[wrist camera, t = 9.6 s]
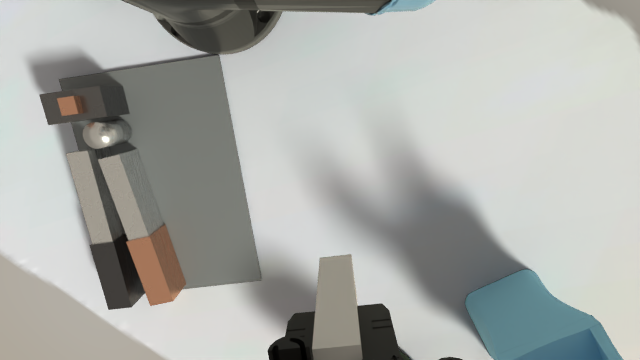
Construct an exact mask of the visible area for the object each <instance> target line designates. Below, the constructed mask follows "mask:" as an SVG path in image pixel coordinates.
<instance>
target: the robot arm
mask: <svg viewBox="0 0 640 360" xmlns="http://www.w3.org/2000/svg"><path fill="white" fill-rule="evenodd" d="M122 1H124V2H127V3H129V4H132V5H134V6H136V7H139V8H141V9H144V10H146V11H149V12H151V13H153V14H154V16H155V17H156V19H157V20H158V22H159V23H160V24H161V25H162V26H163V28H164V29H165V30H166V31H167V32H168V33H170V34H171V35H172V36H173V37H174V38H176V39H177V40H179V41H180V42H182V43H183V44H185V45H187V46H189V47H191V48H194V49H197V50H200V51H203V52H207V53H211V54H233V53H238V52H241V51H244V50H247V49H249V48H251V47H253V46H254V45H256V44H257V43H259V42H260V41H261V40H263V39H264V38H265V37H266V36H267V35H268V34H269V33H270V32H271V30H272V29H273V28H274V26H275V25H276V23H277V22H278V20H279V18H280V16H281V14H282V11H296V12H347V13H365V14H368V15H376V14H379V15H380V14H383V13H385V12H400V11H416V10H418V9H421V8H424V7H426V6H428V5H430V4H431V3H433V2H434V1H435V0H122ZM286 331H287V332H286V335H285V337H282V338H280V339H278V340H276V341H275V342H274V343H273V344H272V345H270V347H269V349H268V355H269V360H404V359H403V358H402V357H401V355H400V352H399V348H398V344H397V340H396V336H395V332H394V328H393V324H392V320H391V316H390V312H389V310H388V309H387V308H386V307H385V306H384V305H383V304H372V305H363V306H358V303H357V295H356V288H355V280H354V272H353V264H352V257H351V254H349V255H341V256H332V257H323V258H320V261H319V273H318V285H317V297H316V309H315V311H314V312H305V313H295V314H294V315H293V316H292V317H291V319H290V320H289V321H288V325H287V330H286ZM439 360H462V359H460V358H453V357H447V358H441V359H439Z"/></svg>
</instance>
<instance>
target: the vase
mask: <svg viewBox="0 0 640 360" xmlns="http://www.w3.org/2000/svg"><path fill="white" fill-rule="evenodd" d="M465 305H466V308H467V311H468V313H469V315H470V317H471V319H472V321H473V323H474V325H475V327H476V329H477V331H478V333H479V335H480V337H481V339H482V341H483V342H484V344H485V346H486V348H487V350H488V352H489V354H490V356H491V357H492V358H493V359H494V360H623V359H622V357H621V356H620V355H619V353H618V351H617V350H616V348H615V347H614V345H613V344H612V342H611V340H610V339H609V337H608V335H607V333H606V332H605V330H604V328H603V327H602V325H601V323H600V322H599V321H597V320H596V319H595V318H594V317H593V316H592V315H589V314H587V313H584V312H582V311H579V310H577V309H575V308H573V307H571V306H569V305H567V304H565V303H563V302H561V301H560V300H558V299H557V298H555V297H554V296H553V295H552V294H551V293H549V291H548V290H547V289H546V288H545V286H544V285H543V283H542V282H541V280H540V278H539V277H538V275H537V274H536V273H535V272H534V271H531V270H528V269H525V270H521V271H518V272H516V273H514V274H511V275H509V276H507V277H505V278H502V279H500V280H498V281H496V282H493V283H491V284H489V285H487V286H484V287H482V288H480V289H478V290H475V291H473V292H471V293H470V294H468V296H467V297H466V300H465Z"/></svg>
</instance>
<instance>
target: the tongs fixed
mask: <svg viewBox="0 0 640 360" xmlns="http://www.w3.org/2000/svg"><path fill="white" fill-rule="evenodd" d="M40 98H41V102H42V105H43V108H44V112H45V115H46V119H47V122H48V125H53V124H61V123H69V122H78V121H85V120H91V119H98V118H105V117H112V116H119V115H126V114H130V113H129V108H128V104H127V100H126V96H125V92H124V88H123V86H94V87H87V88H81V89H74V90H67V91H61V92H54V93H47V94H41V95H40ZM66 156H67V159H68V162H69V166H70V169H71V173H72V176H73V180H74V183H75V186H76V190H77V193H78V197H79V200H80V204H81V207H82V210H83V214H84V217H85V221H86V224H87V228H88V231H89V234H90V238H91V241H92V244H91V245H90V248H91V251H92V255H93V258H94V262H95V265H96V268H97V272H98V275H99V279H100V282H101V285H102V289H103V292H104V296H105V299H106V303H107V306H108V309H109V310H111V309H120V308H129V307H132V306H133V305H134V304H135V303H136V302H137V301H138V300H139V299H140V298H141V297H142V295H143V294H144V293H145V290H144V288H143V285H142V282H141V280H140V277H139V274H138V272H137V269H136V267H135V264H134V261H133V259H132V256H131V253H130V251H129V248H128V246H127V243H126V242H127V241H128V238H127V235H126V233H125V230H124V227H123V225H122V222H121V219H120V217H119V214H118V211H117V209H116V206H115V203H114V201H113V198H112V196H111V193H110V190H109V188H108V185H107V182H106V180H105V177H104V174H103V172H102V169H101V166H100V164H99V161H98V159H102V158H105V157H109V156H111V153H110V150H109V146H108V147H104V148H100V149H95V148H88V149H84V150H80V151H75V152H71V153H67V154H66Z"/></svg>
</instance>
